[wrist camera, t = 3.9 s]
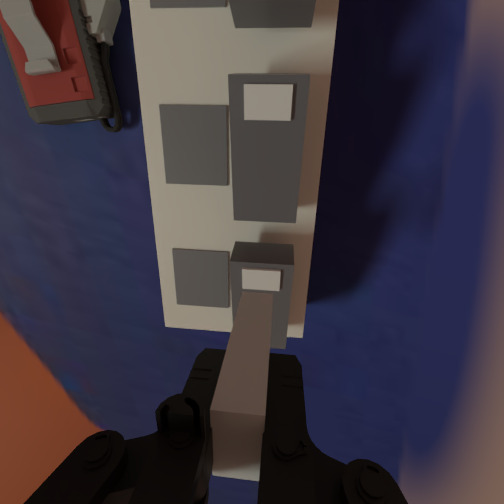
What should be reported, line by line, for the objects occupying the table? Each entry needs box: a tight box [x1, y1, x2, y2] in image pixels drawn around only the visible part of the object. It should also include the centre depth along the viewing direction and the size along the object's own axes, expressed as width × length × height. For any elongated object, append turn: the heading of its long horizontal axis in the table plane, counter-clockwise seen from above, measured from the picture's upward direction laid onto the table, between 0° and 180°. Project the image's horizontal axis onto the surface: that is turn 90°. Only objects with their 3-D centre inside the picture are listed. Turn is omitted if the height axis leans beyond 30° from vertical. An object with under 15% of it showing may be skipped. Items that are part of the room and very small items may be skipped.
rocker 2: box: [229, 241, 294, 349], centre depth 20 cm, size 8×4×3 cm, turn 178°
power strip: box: [129, 0, 339, 338], centre depth 20 cm, size 33×12×5 cm, turn 179°
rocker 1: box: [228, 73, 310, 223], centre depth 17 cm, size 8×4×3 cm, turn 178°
